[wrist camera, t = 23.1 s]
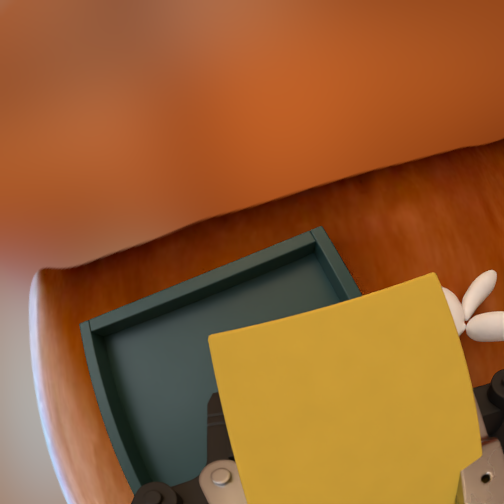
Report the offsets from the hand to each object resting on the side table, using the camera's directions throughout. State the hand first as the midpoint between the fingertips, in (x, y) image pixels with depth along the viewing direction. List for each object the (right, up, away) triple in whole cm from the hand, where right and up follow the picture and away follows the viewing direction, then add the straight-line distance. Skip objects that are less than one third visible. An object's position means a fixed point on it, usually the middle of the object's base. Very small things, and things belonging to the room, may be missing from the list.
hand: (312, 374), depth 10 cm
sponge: (+1, -3, +3) cm, 5 cm away
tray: (-2, -6, +3) cm, 7 cm away
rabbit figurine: (+10, 0, +5) cm, 11 cm away
